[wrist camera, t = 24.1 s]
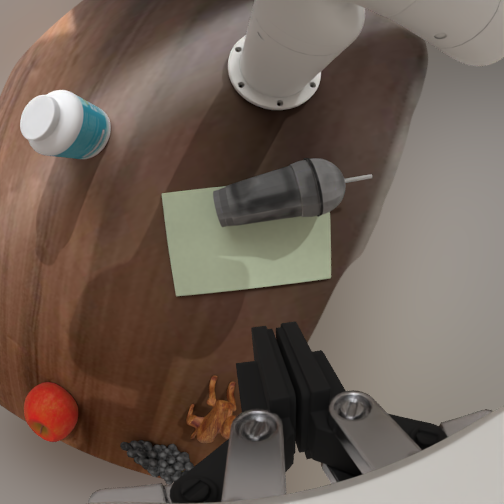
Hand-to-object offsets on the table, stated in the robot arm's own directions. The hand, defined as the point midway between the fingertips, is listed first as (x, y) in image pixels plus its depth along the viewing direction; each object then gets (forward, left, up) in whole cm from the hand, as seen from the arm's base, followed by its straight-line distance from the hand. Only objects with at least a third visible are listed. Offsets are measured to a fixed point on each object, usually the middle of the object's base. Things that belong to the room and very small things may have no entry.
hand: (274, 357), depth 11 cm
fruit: (+41, -20, -29) cm, 54 cm away
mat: (+1, +2, -29) cm, 29 cm away
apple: (+28, -38, -29) cm, 55 cm away
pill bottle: (-16, -19, -29) cm, 38 cm away
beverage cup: (-3, -2, -26) cm, 26 cm away
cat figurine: (+30, -7, -29) cm, 42 cm away
